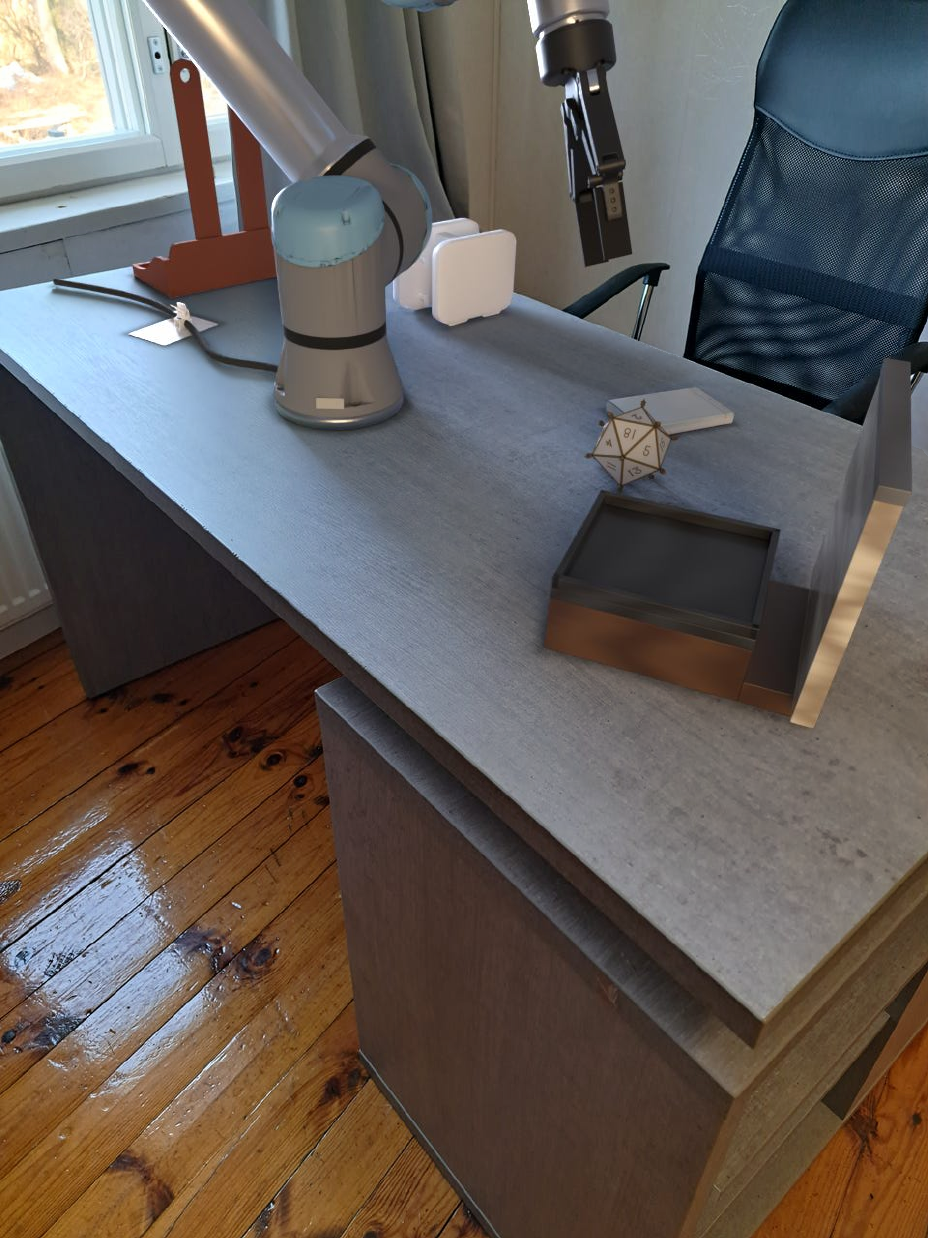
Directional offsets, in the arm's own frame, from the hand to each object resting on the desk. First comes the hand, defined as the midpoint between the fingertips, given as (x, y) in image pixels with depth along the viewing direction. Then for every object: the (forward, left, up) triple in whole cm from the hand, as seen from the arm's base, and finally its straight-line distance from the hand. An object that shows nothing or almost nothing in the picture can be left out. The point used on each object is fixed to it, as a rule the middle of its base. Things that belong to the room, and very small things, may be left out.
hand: (606, 261), depth 90 cm
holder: (+19, -35, -18) cm, 43 cm away
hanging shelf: (-69, +26, -18) cm, 75 cm away
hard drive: (+9, +4, -18) cm, 20 cm away
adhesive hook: (-60, +2, -18) cm, 63 cm away
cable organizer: (-28, +26, -18) cm, 42 cm away
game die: (+8, -13, -18) cm, 23 cm away
